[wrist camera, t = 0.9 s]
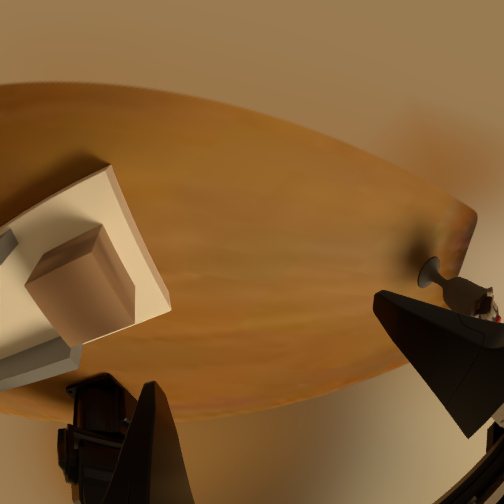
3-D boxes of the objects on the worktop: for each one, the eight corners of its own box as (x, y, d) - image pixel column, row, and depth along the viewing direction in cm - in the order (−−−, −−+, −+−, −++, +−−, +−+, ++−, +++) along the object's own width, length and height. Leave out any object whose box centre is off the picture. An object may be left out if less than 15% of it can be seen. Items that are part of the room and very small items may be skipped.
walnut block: (78, 310, 18) (70, 347, 14) (43, 253, 15) (23, 285, 12) (135, 286, 18) (134, 323, 15) (102, 224, 16) (91, 251, 12)
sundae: (436, 284, 37) (505, 339, 24) (409, 298, 35) (483, 363, 22) (446, 246, 34) (525, 299, 21) (419, 258, 32) (506, 322, 19)
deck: (-24, 368, 18) (-30, 383, 16) (-79, 293, 12) (-88, 306, 10) (168, 291, 22) (171, 310, 20) (111, 164, 17) (105, 170, 15)
